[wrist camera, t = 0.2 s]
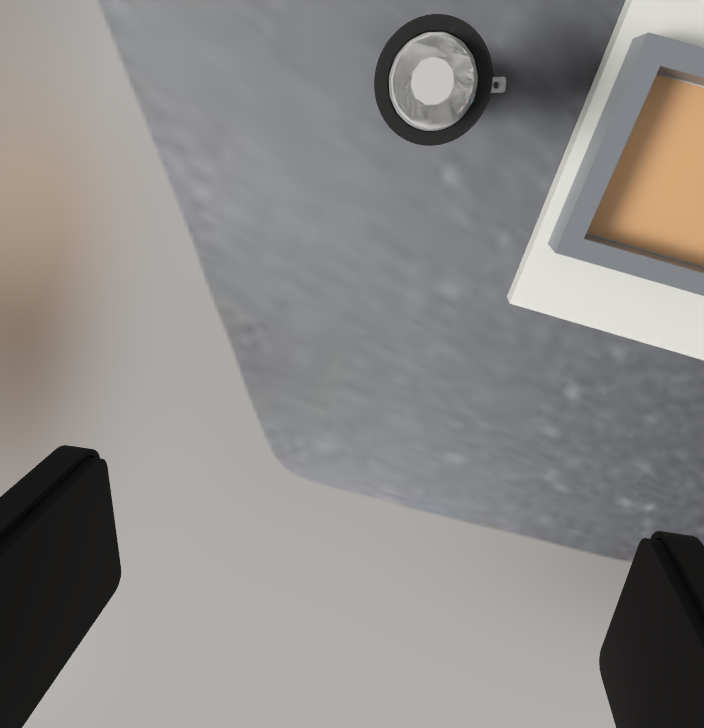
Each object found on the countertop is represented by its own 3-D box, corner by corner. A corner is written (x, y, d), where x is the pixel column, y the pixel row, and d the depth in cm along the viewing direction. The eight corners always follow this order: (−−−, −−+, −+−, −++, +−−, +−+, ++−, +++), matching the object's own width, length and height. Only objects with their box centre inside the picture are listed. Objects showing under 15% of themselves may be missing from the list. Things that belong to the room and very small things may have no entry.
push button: (506, 35, 32) (532, 4, 23) (499, 135, 34) (520, 144, 25) (390, 41, 33) (371, 14, 24) (390, 139, 35) (373, 148, 26)
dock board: (647, -54, 29) (676, -78, 26) (908, 18, 29) (975, 4, 25) (507, 296, 38) (514, 315, 34) (707, 355, 38) (735, 381, 34)
